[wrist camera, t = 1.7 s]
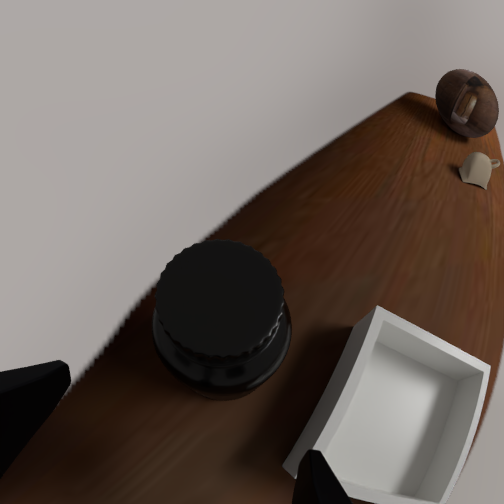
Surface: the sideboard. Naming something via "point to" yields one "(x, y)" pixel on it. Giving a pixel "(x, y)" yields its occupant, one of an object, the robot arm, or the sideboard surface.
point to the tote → (396, 413)
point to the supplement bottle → (221, 319)
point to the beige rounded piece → (477, 169)
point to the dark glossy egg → (467, 103)
